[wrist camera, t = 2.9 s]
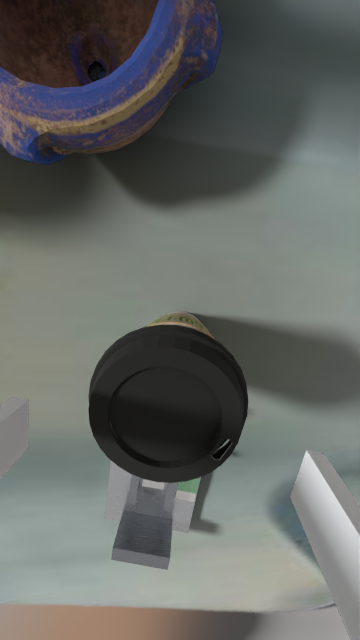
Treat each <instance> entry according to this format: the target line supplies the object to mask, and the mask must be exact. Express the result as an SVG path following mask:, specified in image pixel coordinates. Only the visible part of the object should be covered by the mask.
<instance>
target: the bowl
mask: <svg viewBox="0 0 360 640" xmlns="http://www.w3.org/2000/svg"><path fill="white" fill-rule="evenodd" d="M222 35H223V31H222V27H221V23H220V19H219V15H218V11H217V8H216V5H215V2H214V0H0V143H1V144H2V146H3V147H4V148H5V149H6V150H7V152H8V153H9V154H10V155H13V156H15V157H18V158H21V159H23V160H26V161H29V162H34V163H39V164H44V165H46V164H51V163H53V162H56V161H60V160H61V159H63V158H64V157H66V156H68V155H70V154H72V153H74V152H78V153H84V154H87V153H102V152H108V151H114V150H117V149H119V148H121V147H123V146H126V145H128V144H130V143H132V142H134V141H135V140H137V139H138V138H139V137H140V136H142V135H143V134H144V133H146V132H147V131H148V130H149V129H151V128H152V126H153V125H154V124H155V123H156V122H157V120H158V119H159V118H160V117H161V116H162V114H163V113H164V112H165V110H166V108H167V107H168V105H169V104H170V102H171V100H172V99H173V97H174V95H175V94H176V93H178V92H180V91H182V90H184V89H186V88H188V87H190V86H191V85H193V84H195V83H197V82H200V81H202V80H203V79H205V78H207V77H209V76H210V75H211V74H212V73H213V72H214V69H215V66H216V63H217V59H218V56H219V53H220V47H221V41H222ZM94 61H97V62H99V63H101V65H102V66H103V68H104V69H105V70H106V71H104V72H101V73H100V75H99V80H97V81H93V80H91V79H90V78H89V76H88V68H89V65H90V64H93V62H94Z"/></svg>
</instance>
